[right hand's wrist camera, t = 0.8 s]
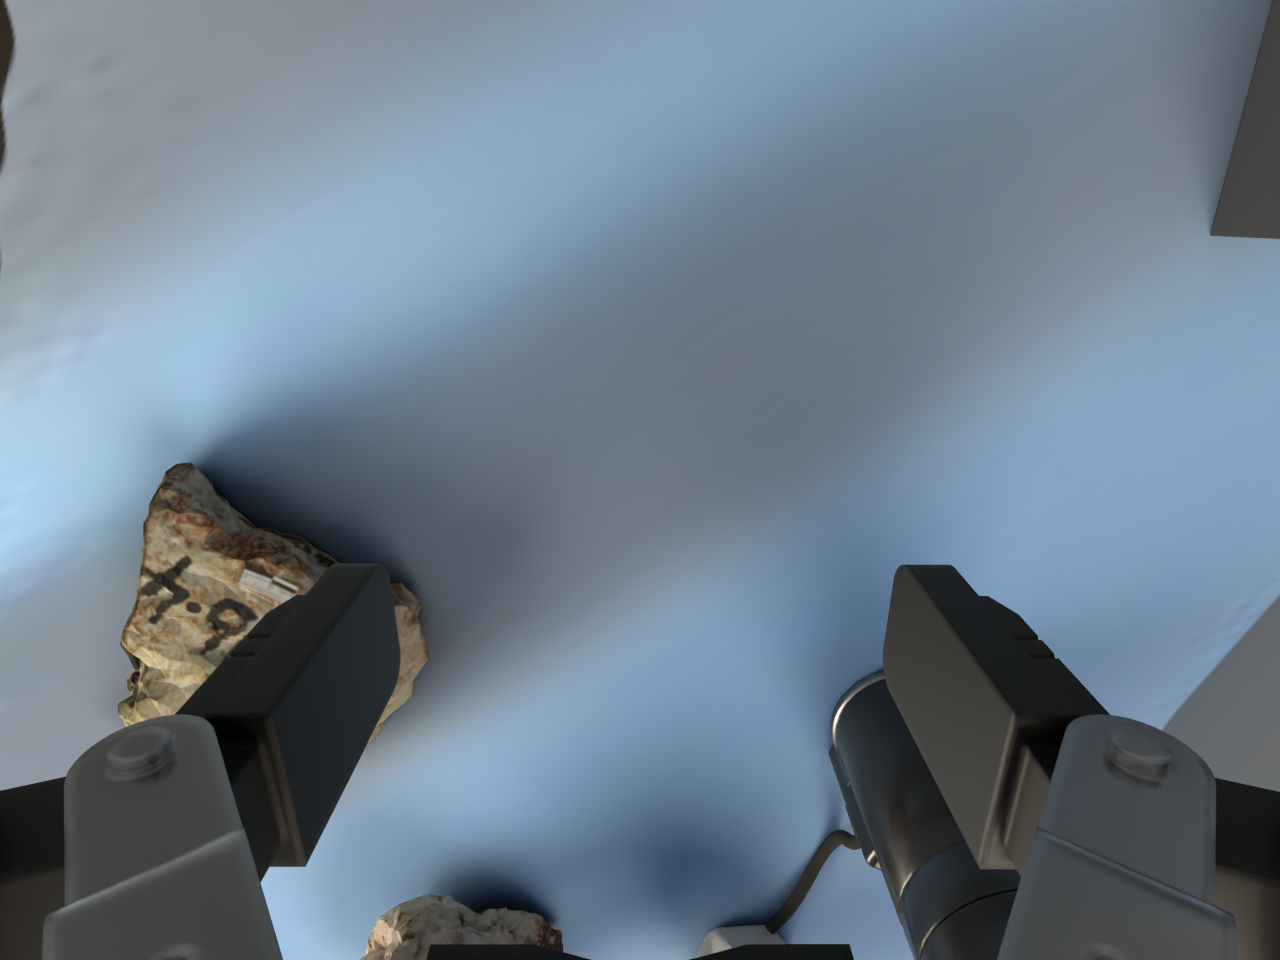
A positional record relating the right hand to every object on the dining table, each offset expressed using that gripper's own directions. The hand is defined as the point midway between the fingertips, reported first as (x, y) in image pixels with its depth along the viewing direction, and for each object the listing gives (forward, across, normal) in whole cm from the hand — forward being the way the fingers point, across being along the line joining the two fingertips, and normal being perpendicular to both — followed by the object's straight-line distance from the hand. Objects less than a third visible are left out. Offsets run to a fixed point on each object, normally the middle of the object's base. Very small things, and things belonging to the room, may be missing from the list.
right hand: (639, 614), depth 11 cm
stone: (+32, +26, +24) cm, 47 cm away
